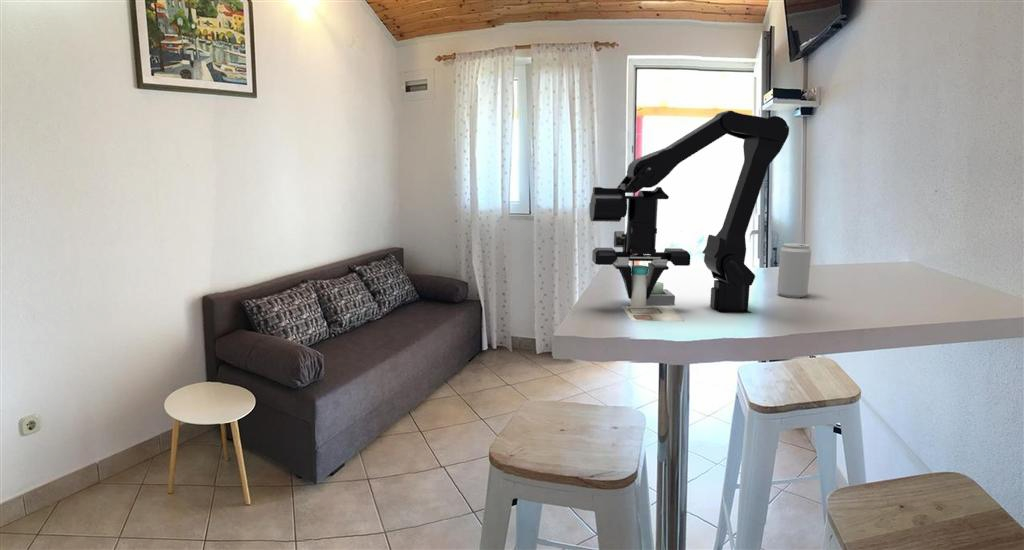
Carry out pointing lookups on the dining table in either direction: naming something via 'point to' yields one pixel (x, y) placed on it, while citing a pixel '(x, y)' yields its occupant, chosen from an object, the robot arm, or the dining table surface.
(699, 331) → the dining table surface
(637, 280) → the marker
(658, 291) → the button
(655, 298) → the button housing
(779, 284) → the beverage can
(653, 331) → the dining table surface
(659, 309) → the drawing board
